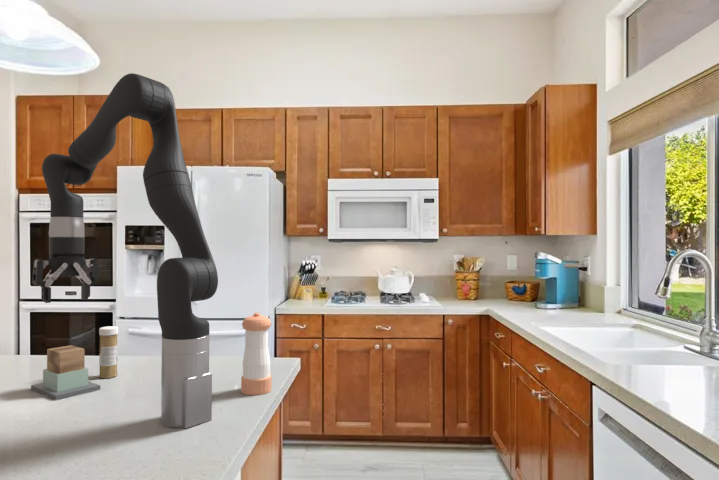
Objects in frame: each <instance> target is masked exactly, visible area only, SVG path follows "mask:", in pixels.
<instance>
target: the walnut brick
mask: <svg viewBox="0 0 719 480" xmlns="http://www.w3.org/2000/svg"><path fill="white" fill-rule="evenodd" d="M85 352H86V351H85V348H83V347H80V346H76V345H71V344H70V345H66V346H58V347H52V348H47V349H46V369H47V370H50V371H53V372H56V373H59V374H62V373H67V372H72V371H77V370H82V369H84V367H85V356H86V355H85Z"/></svg>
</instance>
